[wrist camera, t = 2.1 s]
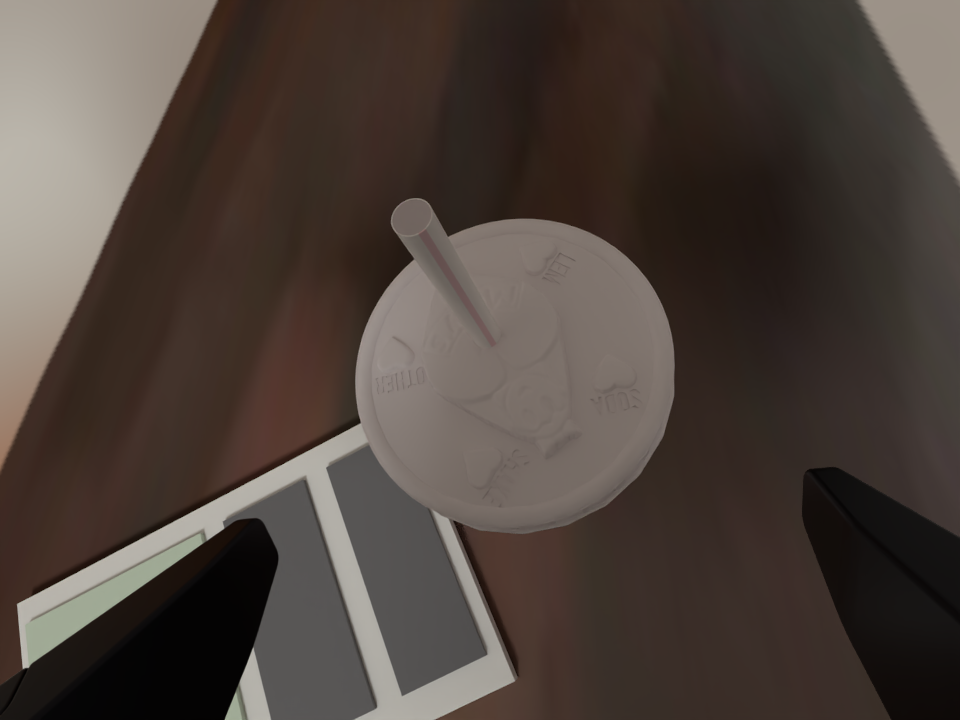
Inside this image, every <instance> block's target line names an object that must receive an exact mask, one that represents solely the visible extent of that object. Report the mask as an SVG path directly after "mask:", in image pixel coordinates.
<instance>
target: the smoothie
mask: <svg viewBox="0 0 960 720" xmlns="http://www.w3.org/2000/svg"><path fill="white" fill-rule="evenodd" d="M391 225H392V228H393V230H394V231H395V233H396V234H397V235H398V237H399V238H400V240H401V241H402V242H403V244H404V245H405V246H406V248H407V249H408V251H409V252H410V253H411V255H412V256H413V258H414V260H413V261H412V262H411V263H410V264H409V265H407V266H406V267H405V268H404V269H403V270H402V271H401V272H400V274H399V275H398V276H397V277H396V278H395V279H394V280H393V282H392V283H391V284H390V285H389V287H388V288H387V289H386V290H385V292H384V294H383V295H382V297H381V298H380V300H379V301H378V303H377V305H376V307H375V308H374V310H373V312H372V314H371V316H370V318H369V321H368V323H367V325H366V328H365V331H364V334H363V337H362V340H361V344H360V348H359V352H358V358H357V365H356V379H355V387H356V400H357V407H358V413H359V417H360V421H361V425H362V428H363V431H364V433H365V436H366V439H367V441H368V443H369V445H370V447H371V449H372V451H373V453H374V455H375V456H376V458H377V460H378V461H379V463H380V465H381V466H382V467H383V469H384V470H385V471H386V472H387V474H388V475H389V476H390V477H391V478H392V480H393V481H394V482H395V483H396V484H397V485H398V486H399V487H400V488H401V489H402V490H404V491H405V492H406V493H407V494H408V495H410V496H411V497H412V498H413V499H415V500H416V501H418V502H419V503H421V504H422V505H424V506H425V507H427V508H429V509H431V510H433V511H435V512H436V513H438V514H440V515H441V516H444V517H446V518H449V519H451V520H454V521H457V522H459V523H462V524H464V525H467V526H470V527H472V528H475V529H478V530H480V531H492V532H504V533H516V534H526V533H531V532H536V531H542V530H547V529H552V528H557V527H562V526H567V525H569V524H571V523H573V522H575V521H577V520H579V519H581V518H583V517H585V516H587V515H589V514H591V513H593V512H595V511H597V510H598V509H600V508H602V507H604V506H606V505H608V504H609V503H610V502H611V501H612V500H613V499H614V498H615V497H616V496H617V495H619V494H620V493H621V492H622V491H623V490H624V489H625V488H626V487H627V486H628V485H629V484H630V483H632V482H633V481H634V480H635V479H636V478H637V477H638V476H639V475H640V474H641V472H642V471H643V469H644V467H645V466H646V464H647V462H648V461H649V459H650V458H651V456H652V454H653V453H654V451H655V449H656V448H657V446H658V444H659V443H660V441H661V440H662V438H663V435H664V432H665V428H666V424H667V421H668V417H669V413H670V410H671V406H672V402H673V399H674V368H675V364H674V347H673V341H672V334H671V330H670V327H669V323H668V319H667V317H666V314H665V311H664V309H663V306H662V304H661V302H660V300H659V298H658V296H657V294H656V292H655V291H654V289H653V287H652V286H651V284H650V283H649V281H648V280H647V278H646V277H645V276H644V275H643V274H642V272H641V271H640V270H639V269H638V267H637V266H636V265H635V264H634V263H633V262H632V261H630V260H629V259H628V258H627V257H626V256H625V255H624V254H623V253H621V252H620V251H619V250H618V249H616V248H615V247H614V246H612V245H611V244H609V243H608V242H606V241H604V240H603V239H601V238H599V237H597V236H595V235H593V234H591V233H589V232H587V231H584V230H582V229H579V228H577V227H574V226H570V225H567V224H563V223H559V222H554V221H549V220H539V219H509V220H501V221H494V222H489V223H485V224H481V225H477V226H474V227H471V228H468V229H465V230H463V231H460V232H458V233H456V234H453V235H451V236H449V237H448V236H447V234H446V233H445V231H444V229H443V227H442V225H441V224H440V222H439V220H438V218H437V217H436V215H435V213H434V211H433V209H432V208H431V206H430V204H429V203H428V202H427V201H425V200H423V199H419V198H412V199H408V200H406V201H404V202H402V203H401V204H399V205H398V206H397V207H396V209H395V210H394V212H393V214H392V217H391Z"/></svg>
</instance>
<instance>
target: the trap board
mask: <svg viewBox="0 0 960 720" xmlns="http://www.w3.org/2000/svg"><path fill="white" fill-rule="evenodd" d="M248 518H258V519H260V520H262V521H263V522H264V524H265V526H266V528H267V530H268V532H269V534H270V536H271V538H272V540H273V542H274V544H275V546H276V548H277V551H278V555H279V561H278V567H277V570H276V574H275V577H274V580H273V584H272V587H271V591H270V594H269V597H268V601H267V604H266V608H265V611H264V614H263V618H262V621H261V624H260V628H259V631H258V634H257V637H256V641H255V644H254V647H253V649H252V652H251V655H250V657H249V660H248V663H247V665H246V668H245V670H244V673H243V675H242V678H241V680H240V683H239V685H238V688H237V690H236V693H235V695H234V698H233V700H232V703H231V705H230V708H229V710H228V713H227V715H226V718H225V720H435V719H437V718H439V717H441V716H443V715H445V714H447V713H449V712H452V711H454V710H456V709H458V708H460V707H462V706H464V705H466V704H468V703H470V702H472V701H475V700H477V699H479V698H481V697H483V696H485V695H487V694H489V693H491V692H493V691H495V690H498V689H500V688H502V687H504V686H506V685H508V684H510V683H512V682H514V681H516V679H517V678H518V677H517V674H516V672H515V669H514V667H513V664H512V662H511V660H510V657H509V655H508V652H507V650H506V648H505V645H504V643H503V640H502V638H501V635H500V633H499V631H498V628H497V626H496V623H495V621H494V618H493V616H492V614H491V611H490V609H489V606H488V604H487V602H486V599H485V597H484V594H483V592H482V589H481V587H480V585H479V582H478V580H477V577H476V575H475V572H474V570H473V568H472V565H471V563H470V560H469V558H468V555H467V553H466V551H465V548H464V546H463V543H462V541H461V539H460V536H459V534H458V531H457V529H456V526H455V524H454V522H453V520H451V519H449V518H446V517H444V516H441V515H440V514H438V513H436V512H435V511H433V510H431V509H429V508H427V507H425V506H424V505H422V504H421V503H419V502H418V501H416V500H415V499H413V498H412V497H411V496H410V495H408V494H407V493H406V492H405V491H404V490H402V489H401V488H400V487H399V486H398V485H397V484H396V483H395V482H394V481H393V480H392V478H391V477H390V476H389V475H388V474H387V472H386V471H385V470H384V469H383V467H382V466H381V465H380V463H379V461H378V460H377V458H376V456H375V455H374V453H373V451H372V449H371V447H370V445H369V443H368V441H367V439H366V436H365V433H364V431H363V428H362V425H361V424H359V425H357V426H355V427H353V428H351V429H349V430H347V431H345V432H343V433H342V434H340V435H338V436H336V437H334V438H332V439H330V440H328V441H326V442H324V443H323V444H321V445H319V446H317V447H315V448H313V449H311V450H309V451H307V452H305V453H304V454H302V455H300V456H298V457H296V458H294V459H292V460H290V461H288V462H286V463H285V464H283V465H281V466H279V467H277V468H275V469H273V470H271V471H269V472H267V473H266V474H264V475H262V476H260V477H258V478H256V479H254V480H252V481H250V482H248V483H247V484H245V485H243V486H241V487H239V488H237V489H235V490H233V491H231V492H229V493H228V494H226V495H224V496H222V497H220V498H218V499H216V500H214V501H212V502H210V503H209V504H207V505H205V506H203V507H201V508H199V509H197V510H195V511H193V512H191V513H190V514H188V515H186V516H184V517H182V518H180V519H178V520H176V521H174V522H172V523H171V524H169V525H167V526H165V527H163V528H161V529H159V530H157V531H155V532H153V533H152V534H150V535H148V536H146V537H144V538H142V539H140V540H138V541H136V542H134V543H133V544H131V545H129V546H127V547H125V548H123V549H121V550H119V551H117V552H115V553H114V554H112V555H110V556H108V557H106V558H104V559H102V560H100V561H98V562H96V563H95V564H93V565H91V566H89V567H87V568H85V569H83V570H81V571H79V572H77V573H76V574H74V575H72V576H70V577H68V578H66V579H64V580H62V581H60V582H58V583H57V584H55V585H53V586H51V587H49V588H47V589H45V590H43V591H41V592H39V593H38V594H36V595H34V596H32V597H30V598H28V599H26V600H24V601H22V602H20V603H19V604H17V607H18V618H19V629H20V641H21V652H22V663H23V669H24V668H29V666H30V665H31V663H33V662H34V661H36V660H37V659H39V658H40V657H41V656H43V655H44V654H46V653H47V652H49V651H50V650H51V649H53V648H54V647H56V646H57V645H59V644H60V643H61V642H63V641H64V640H66V639H67V638H69V637H70V636H71V635H73V634H74V633H76V632H77V631H79V630H80V629H81V628H83V627H84V626H86V625H87V624H89V623H90V622H91V621H93V620H94V619H96V618H97V617H99V616H100V615H101V614H103V613H104V612H106V611H107V610H109V609H110V608H111V607H113V606H114V605H116V604H117V603H119V602H120V601H121V600H123V599H124V598H126V597H127V596H129V595H130V594H131V593H133V592H134V591H136V590H137V589H139V588H140V587H141V586H143V585H144V584H146V583H147V582H149V581H150V580H151V579H153V578H154V577H156V576H157V575H159V574H160V573H161V572H163V571H164V570H166V569H167V568H169V567H170V566H171V565H173V564H174V563H176V562H177V561H179V560H180V559H181V558H183V557H184V556H186V555H187V554H189V553H190V552H191V551H193V550H194V549H196V548H197V547H199V546H200V545H201V544H203V543H204V542H206V541H207V540H209V539H210V538H211V537H213V536H214V535H216V534H217V533H219V532H220V531H221V530H223V529H224V528H226V527H227V526H229V525H230V524H231V523H233V522H234V521H236V520H239V519H248Z"/></svg>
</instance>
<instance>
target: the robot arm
mask: <svg viewBox="0 0 960 720" xmlns="http://www.w3.org/2000/svg"><path fill="white" fill-rule="evenodd" d="M802 517H803V522H804V526H805V529H806V532H807V534H808V537H809V540H810V542H811V545H812V547H813V550H814V553H815V555H816V558H817V560H818V563H819V566H820V568H821V571H822V573H823V576H824V579H825V581H826V584H827V586H828V589H829V592H830V594H831V597H832V599H833V602H834V605H835V607H836V610H837V612H838V615H839V617H840V620H841V622H842V624H843V627H844V629H845V631H846V633H847V635H848V637H849V639H850V641H851V643H852V645H853V647H854V649H855V651H856V653H857V655H858V657H859V659H860V660H861V662H862V664H863V666H864V668H865V670H866V672H867V674H868V676H869V678H870V680H871V682H872V684H873V685H874V687H875V689H876V691H877V693H878V695H879V697H880V699H881V701H882V703H883V705H884V707H885V709H886V710H887V712H888V714H889V716H890V718H891V720H960V537H958V536H957V535H955V534H953V533H951V532H950V531H948V530H946V529H944V528H943V527H941V526H939V525H937V524H936V523H934V522H932V521H931V520H929V519H927V518H925V517H924V516H922V515H920V514H918V513H917V512H915V511H913V510H911V509H910V508H908V507H906V506H904V505H903V504H901V503H899V502H897V501H896V500H894V499H892V498H890V497H889V496H887V495H885V494H883V493H882V492H880V491H878V490H876V489H875V488H873V487H871V486H869V485H868V484H866V483H864V482H862V481H861V480H859V479H857V478H855V477H854V476H852V475H850V474H848V473H847V472H845V471H843V470H841V469H839V468H836V467H826V468H815V469H809V470H807V471H806V472H805V474H804V479H803V501H802ZM278 561H279V555H278V551H277V548H276V546H275V544H274V542H273V540H272V538H271V536H270V534H269V532H268V530H267V528H266V526H265V524H264V522H263V521H262V520H260V519H258V518H248V519H239V520H236V521H234V522H233V523H231V524H230V525H229V526H227V527H226V528H224V529H223V530H221V531H220V532H219V533H217V534H216V535H214V536H213V537H211V538H210V539H209V540H207V541H206V542H204V543H203V544H201V545H200V546H199V547H197V548H196V549H194V550H193V551H191V552H190V553H189V554H187V555H186V556H184V557H183V558H181V559H180V560H179V561H177V562H176V563H174V564H173V565H171V566H170V567H169V568H167V569H166V570H164V571H163V572H161V573H160V574H159V575H157V576H156V577H154V578H153V579H151V580H150V581H149V582H147V583H146V584H144V585H143V586H141V587H140V588H139V589H137V590H136V591H134V592H133V593H131V594H130V595H129V596H127V597H126V598H124V599H123V600H121V601H120V602H119V603H117V604H116V605H114V606H113V607H111V608H110V609H109V610H107V611H106V612H104V613H103V614H101V615H100V616H99V617H97V618H96V619H94V620H93V621H91V622H90V623H89V624H87V625H86V626H84V627H83V628H81V629H80V630H79V631H77V632H76V633H74V634H73V635H71V636H70V637H69V638H67V639H66V640H64V641H63V642H61V643H60V644H59V645H57V646H56V647H54V648H53V649H51V650H50V651H49V652H47V653H46V654H44V655H43V656H41V657H40V658H39V659H37V660H36V661H34V662H33V663H31V665H30V666H29V668H24V669H23V670H21V671H20V672H18V673H17V674H16V675H14V676H13V677H11V678H10V679H8V680H7V681H6V682H4V683H3V684H1V685H0V720H225V718H226V715H227V713H228V710H229V708H230V705H231V703H232V700H233V698H234V695H235V693H236V690H237V688H238V685H239V683H240V680H241V678H242V675H243V673H244V670H245V668H246V665H247V663H248V660H249V657H250V655H251V652H252V649H253V647H254V644H255V641H256V637H257V634H258V631H259V628H260V624H261V621H262V618H263V614H264V611H265V608H266V604H267V601H268V597H269V594H270V591H271V587H272V584H273V580H274V577H275V574H276V570H277V567H278Z"/></svg>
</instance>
